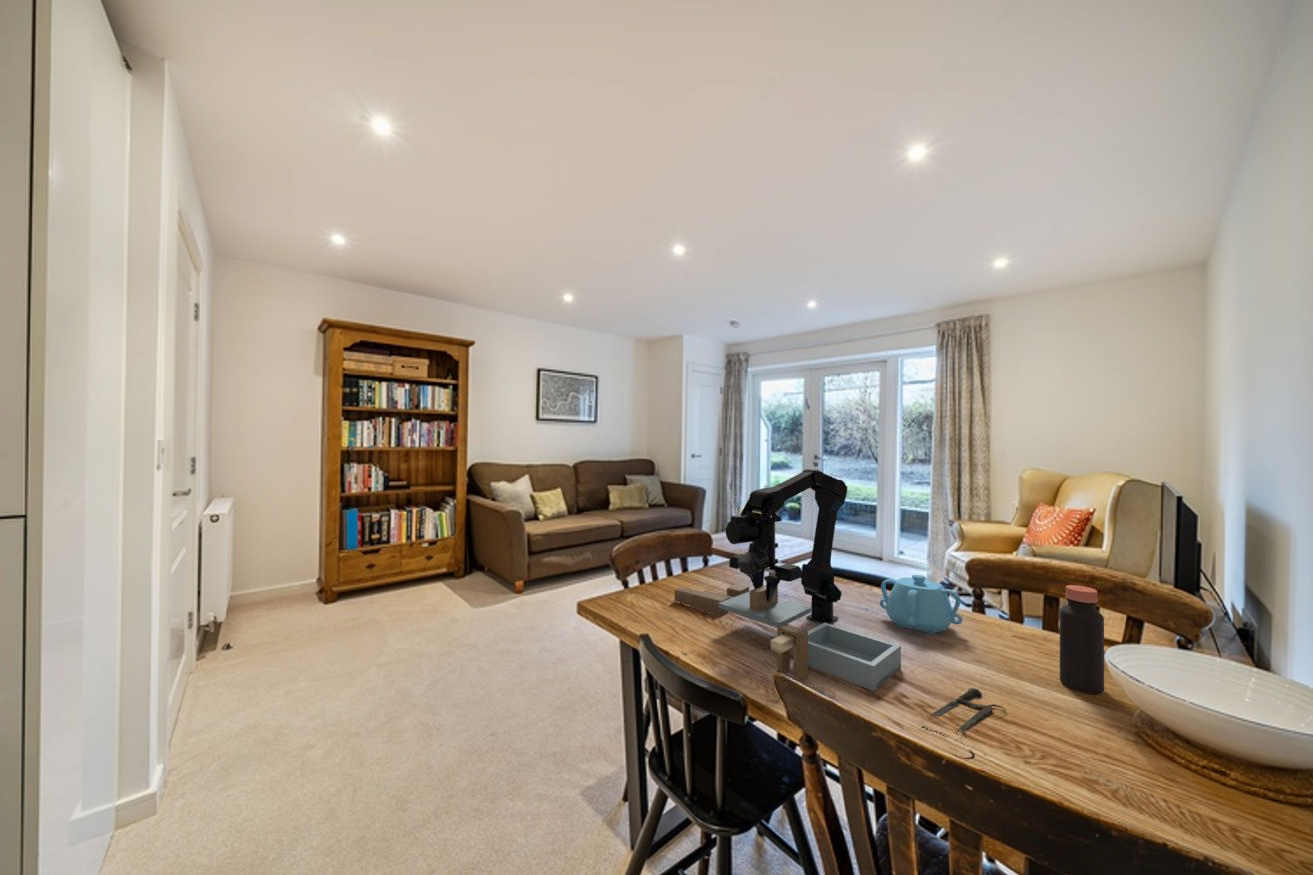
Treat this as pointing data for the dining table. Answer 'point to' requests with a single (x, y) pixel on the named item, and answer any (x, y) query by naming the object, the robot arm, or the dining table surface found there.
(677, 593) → the wooden block set
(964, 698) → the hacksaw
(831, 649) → the toolbox
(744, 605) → the lid
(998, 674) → the dining table surface
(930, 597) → the decorative pot
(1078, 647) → the bottle
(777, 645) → the wooden key
